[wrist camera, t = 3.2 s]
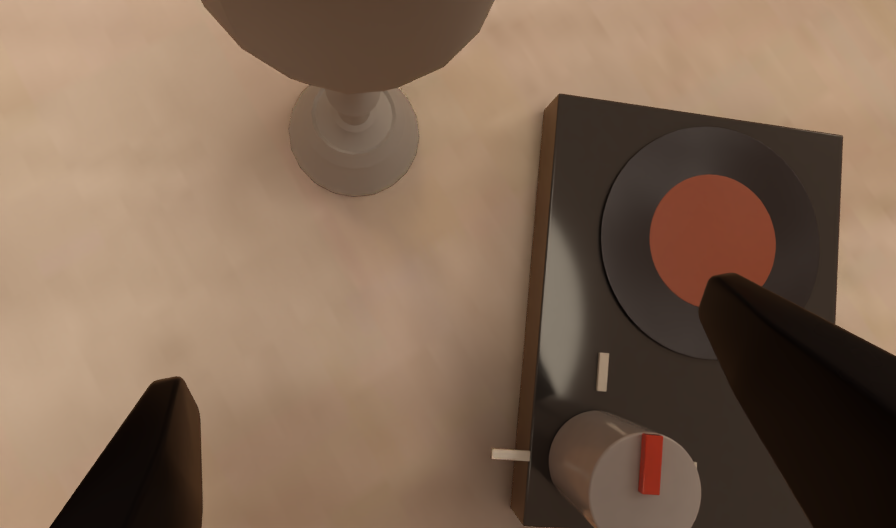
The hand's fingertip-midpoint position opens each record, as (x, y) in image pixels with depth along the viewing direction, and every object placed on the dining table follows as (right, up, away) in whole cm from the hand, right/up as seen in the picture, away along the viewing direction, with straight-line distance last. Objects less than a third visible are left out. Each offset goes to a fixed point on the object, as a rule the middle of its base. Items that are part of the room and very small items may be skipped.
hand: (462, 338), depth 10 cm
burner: (+10, +2, +13) cm, 17 cm away
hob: (+9, -1, +15) cm, 17 cm away
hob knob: (+5, -6, +12) cm, 14 cm away
